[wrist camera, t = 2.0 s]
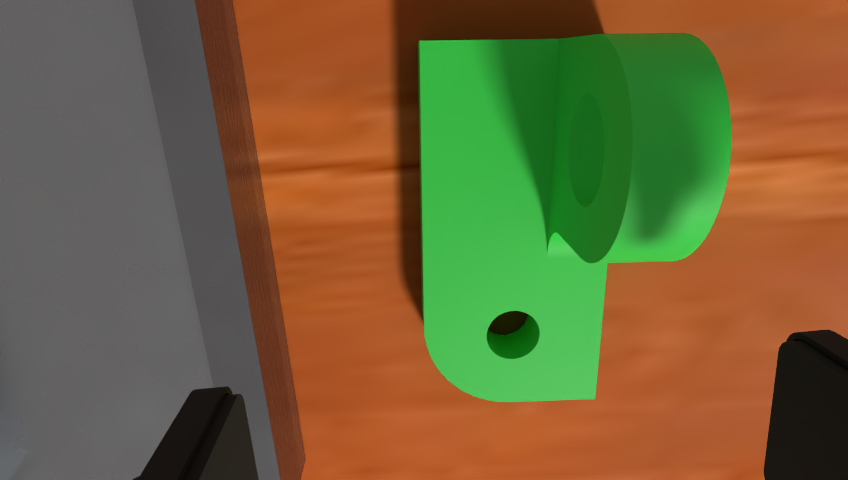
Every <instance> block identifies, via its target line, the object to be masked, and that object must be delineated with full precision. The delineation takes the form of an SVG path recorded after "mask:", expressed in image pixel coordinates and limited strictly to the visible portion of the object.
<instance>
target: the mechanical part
mask: <svg viewBox="0 0 848 480" xmlns="http://www.w3.org/2000/svg"><path fill="white" fill-rule="evenodd" d="M418 97H419V157H420V218H421V278H422V313H423V323H424V334H425V340H426V345H427V348H428V351H429V354H430V356H431V358H432V360H433V362H434V364H435V365H436V367H437V368H438V370H439V371H440V372H441V373H442V374H443V376H444V377H445V378H446V379H447V380H448V381H450V382H451V383H452V384H453V385H455V386H456V387H458V388H459V389H461V390H462V391H464V392H466V393H468V394H470V395H473V396H475V397H478V398H482V399H485V400H490V401H497V402H525V401H552V400H580V399H595V396H596V385H597V374H598V362H599V351H600V340H601V329H602V318H603V307H604V296H605V285H606V274H607V263H620V262H656V261H677V260H681V259H683V258H685V257H687V256H689V255H690V254H691V253H693V252H694V251H695V250H696V249H697V248H698V247H699V246H700V244H701V243H702V242H703V241H704V239H705V238H706V236H707V234H708V233H709V231H710V229H711V227H712V225H713V223H714V221H715V219H716V217H717V214H718V212H719V209H720V206H721V203H722V200H723V196H724V192H725V189H726V184H727V179H728V174H729V167H730V158H731V118H730V109H729V101H728V96H727V91H726V87H725V83H724V80H723V76H722V73H721V71H720V68H719V65H718V63H717V61H716V59H715V57H714V56H713V54H712V53H711V51H710V49H709V48H708V47H707V46H706V45H705V44H704V42H702V41H701V40H700V39H699V38H697V37H695V36H693V35H691V34H687V33H648V34H594V35H585V36H577V37H569V38H561V39H505V40H432V41H419V42H418ZM509 311H521V312H525V313H527V314H528V316H527V319H526V321H525V323H524V324H523V325H522V327H521V328H519V329H518V330H517V331H515V332H513V333H510V334H505V335H500V334H495V333H492V332H490V331H488V328H489V326H490V324H491V322H492V321H493V320H494V319H495V318H496V317H497V316H499V315H501V314H503V313H505V312H509Z"/></svg>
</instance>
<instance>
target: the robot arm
mask: <svg viewBox="0 0 848 480" xmlns="http://www.w3.org/2000/svg"><path fill="white" fill-rule="evenodd" d="M764 477H765V480H848V339H846V338H844V337H842V336H841V335H839V334H837V333H835V332H833V331H831V330H818V331H808V332H797V333H793V334H791V335H790V336H789V337H788V339H787V341H786V342H784V343H782V345H781V346H780V348H779V352H778V360H777V368H776V376H775V384H774V392H773V400H772V408H771V417H770V425H769V433H768V441H767V449H766V457H765V465H764ZM133 480H259V478H258V473H257V467H256V462H255V457H254V451H253V446H252V440H251V435H250V429H249V424H248V418H247V413H246V407H245V402H244V398H243V396H242V395H241V394H233V393H232V391H231V389H230V388H229V387H228V386H225V387H215V388H204V389H195V390H192V392H191V393H190V394H189V396H188V397H187V399H186V401H185V402H184V404H183V406H182V407H181V409H180V411H179V412H178V414H177V416H176V417H175V419H174V420H173V422H172V424H171V425H170V427H169V429H168V430H167V432H166V434H165V435H164V437H163V439H162V440H161V442H160V443H159V445H158V447H157V448H156V450H155V452H154V453H153V455H152V457H151V458H150V460H149V462H148V463H147V465H146V466H145V468H144V470H143V471H142V473H141V475H140V476H138V477H136V478H134V479H133Z"/></svg>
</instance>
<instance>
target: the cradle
mask: <svg viewBox="0 0 848 480" xmlns="http://www.w3.org/2000/svg"><path fill="white" fill-rule="evenodd" d="M225 386H228V387H229V388H230V389H231V391H232V393H233V394H241V395H242V396H243V398H244V402H245V407H246V413H247V418H248V424H249V429H250V435H251V440H252V446H253V451H254V457H255V462H256V467H257V473H258V478H259V480H301V477H302V472H303V468H304V464H305V453H304V446H303V440H302V434H301V428H300V421H299V415H298V409H297V402H296V396H295V390H294V384H293V377H292V371H291V365H290V359H289V352H288V346H287V340H286V334H285V327H284V321H283V315H282V308H281V302H280V296H279V290H278V283H277V277H276V271H275V265H274V258H273V252H272V246H271V239H270V233H269V227H268V221H267V214H266V208H265V202H264V196H263V189H262V183H261V177H260V171H259V164H258V158H257V152H256V145H255V139H254V133H253V127H252V120H251V114H250V108H249V102H248V95H247V89H246V83H245V76H244V70H243V64H242V58H241V51H240V45H239V39H238V33H237V26H236V20H235V14H234V8H233V1H232V0H0V480H133V479H134V478H136V477H138V476H140V475H141V473H142V471H143V470H144V468H145V466H146V465H147V463H148V462H149V460H150V458H151V457H152V455H153V453H154V452H155V450H156V448H157V447H158V445H159V443H160V442H161V440H162V439H163V437H164V435H165V434H166V432H167V430H168V429H169V427H170V425H171V424H172V422H173V420H174V419H175V417H176V416H177V414H178V412H179V411H180V409H181V407H182V406H183V404H184V402H185V401H186V399H187V397H188V396H189V394H190V393H191V392H192V390H195V389H204V388H215V387H225Z"/></svg>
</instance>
